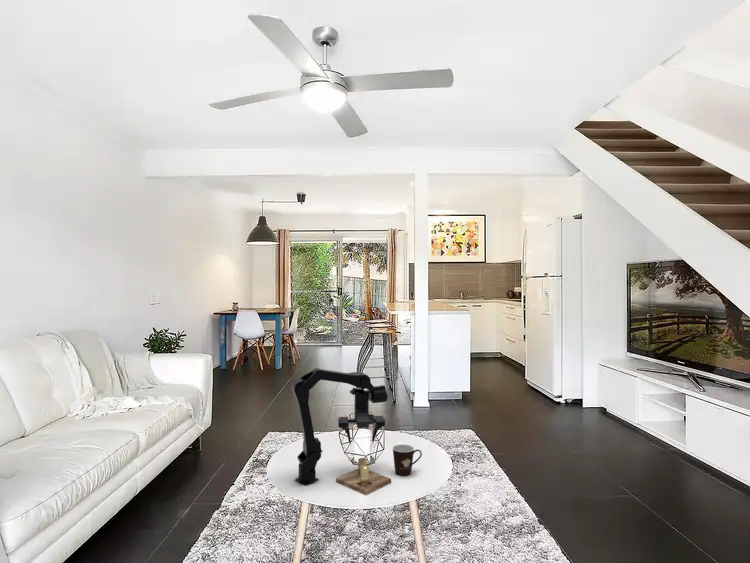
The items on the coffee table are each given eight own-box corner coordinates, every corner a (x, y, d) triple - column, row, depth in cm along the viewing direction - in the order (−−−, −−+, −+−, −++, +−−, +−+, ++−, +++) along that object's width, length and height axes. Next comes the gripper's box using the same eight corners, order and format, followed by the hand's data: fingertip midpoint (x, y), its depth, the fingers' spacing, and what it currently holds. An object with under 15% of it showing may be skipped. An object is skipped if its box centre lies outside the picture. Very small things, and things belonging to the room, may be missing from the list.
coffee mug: (391, 476, 183) (391, 451, 183) (393, 468, 191) (393, 443, 191) (420, 478, 181) (421, 453, 181) (421, 469, 190) (421, 445, 190)
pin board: (335, 481, 178) (336, 463, 178) (361, 470, 188) (361, 453, 188) (366, 495, 167) (366, 475, 167) (391, 482, 178) (391, 464, 178)
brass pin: (360, 489, 171) (360, 468, 171) (360, 486, 175) (360, 464, 175) (369, 489, 172) (369, 468, 172) (368, 485, 175) (368, 464, 175)
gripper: (339, 410, 178) (339, 451, 178) (387, 409, 180) (387, 449, 180) (338, 402, 189) (337, 440, 189) (383, 401, 191) (383, 439, 191)
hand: (361, 442), depth 187 cm, fingers open, 9 cm apart
